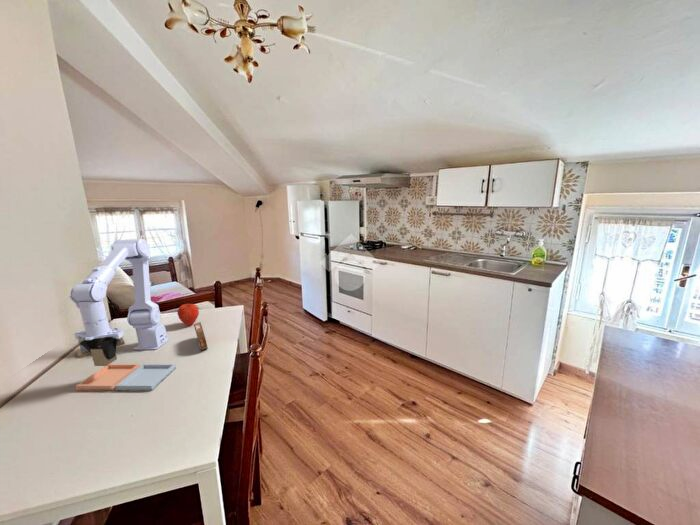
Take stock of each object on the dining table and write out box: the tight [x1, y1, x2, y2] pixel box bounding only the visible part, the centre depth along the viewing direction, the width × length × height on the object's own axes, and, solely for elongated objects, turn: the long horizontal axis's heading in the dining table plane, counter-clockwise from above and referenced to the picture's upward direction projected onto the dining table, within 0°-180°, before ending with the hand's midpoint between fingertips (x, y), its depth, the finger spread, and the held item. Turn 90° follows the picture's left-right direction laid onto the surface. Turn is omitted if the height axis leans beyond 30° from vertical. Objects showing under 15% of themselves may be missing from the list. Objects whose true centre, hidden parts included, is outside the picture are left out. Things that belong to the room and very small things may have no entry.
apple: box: [177, 303, 200, 327], centre depth 130 cm, size 9×8×11 cm
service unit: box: [76, 327, 126, 359], centre depth 112 cm, size 7×14×6 cm, turn 137°
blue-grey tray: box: [115, 363, 177, 392], centre depth 92 cm, size 12×12×2 cm
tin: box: [193, 321, 208, 351], centre depth 112 cm, size 15×3×8 cm, turn 34°
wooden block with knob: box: [90, 344, 118, 367], centre depth 90 cm, size 4×4×7 cm
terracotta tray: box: [75, 363, 141, 392], centre depth 92 cm, size 12×12×2 cm
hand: (105, 357), depth 91 cm, fingers closed on wooden block with knob, 4 cm apart
